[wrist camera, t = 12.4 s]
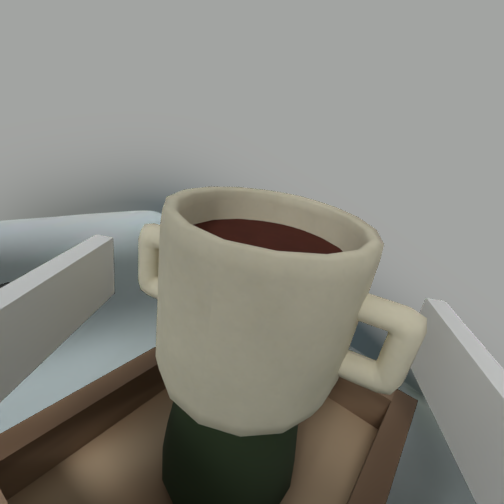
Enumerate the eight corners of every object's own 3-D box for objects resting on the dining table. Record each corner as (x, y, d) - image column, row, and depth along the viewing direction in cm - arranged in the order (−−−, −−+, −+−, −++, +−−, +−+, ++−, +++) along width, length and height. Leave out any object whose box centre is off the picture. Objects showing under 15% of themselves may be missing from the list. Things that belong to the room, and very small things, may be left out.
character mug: (346, 455, 17) (443, 229, 11) (316, 639, 10) (495, 333, 5) (179, 371, 20) (195, 169, 15) (83, 471, 14) (53, 188, 9)
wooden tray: (-45, 516, 12) (-64, 469, 11) (234, 330, 26) (239, 299, 24) (176, 1099, 6) (188, 1138, 4) (400, 435, 19) (418, 400, 18)
